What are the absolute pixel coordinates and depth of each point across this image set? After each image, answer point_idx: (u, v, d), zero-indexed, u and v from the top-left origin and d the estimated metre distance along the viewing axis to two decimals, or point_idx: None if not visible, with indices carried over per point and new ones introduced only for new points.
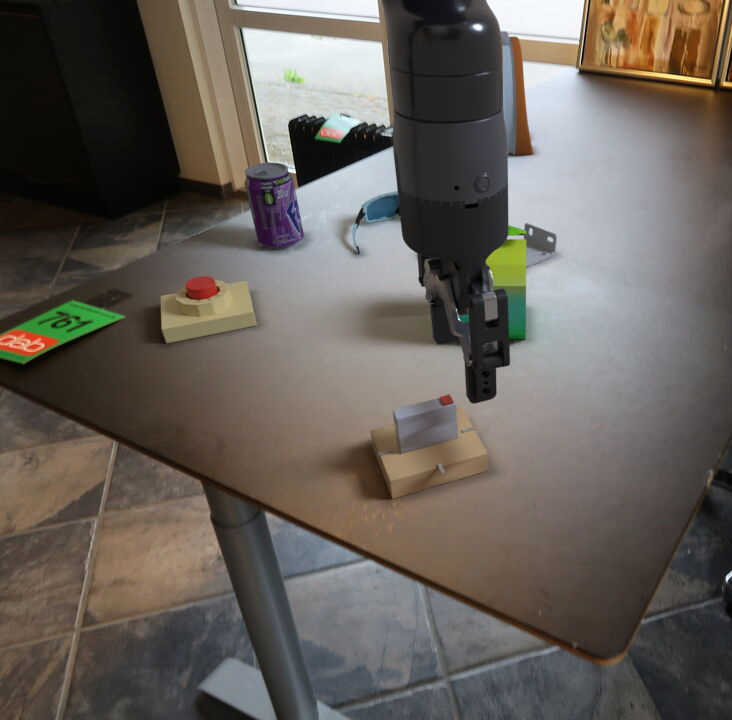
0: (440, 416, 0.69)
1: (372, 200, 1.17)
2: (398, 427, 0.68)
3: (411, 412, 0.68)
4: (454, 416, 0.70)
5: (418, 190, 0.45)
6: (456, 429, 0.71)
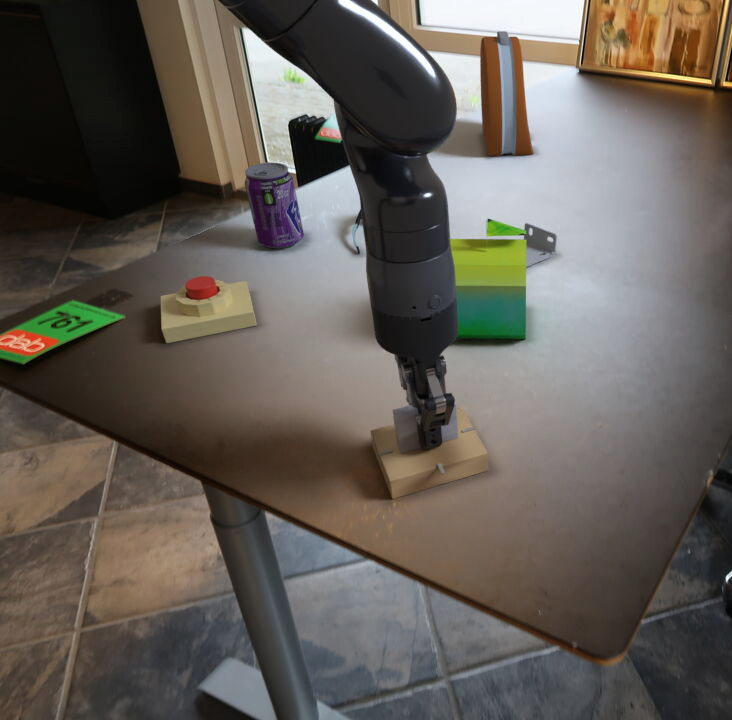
0: None
1: None
2: (398, 427, 0.68)
3: (411, 412, 0.68)
4: (454, 416, 0.70)
5: (385, 308, 0.59)
6: (456, 429, 0.71)
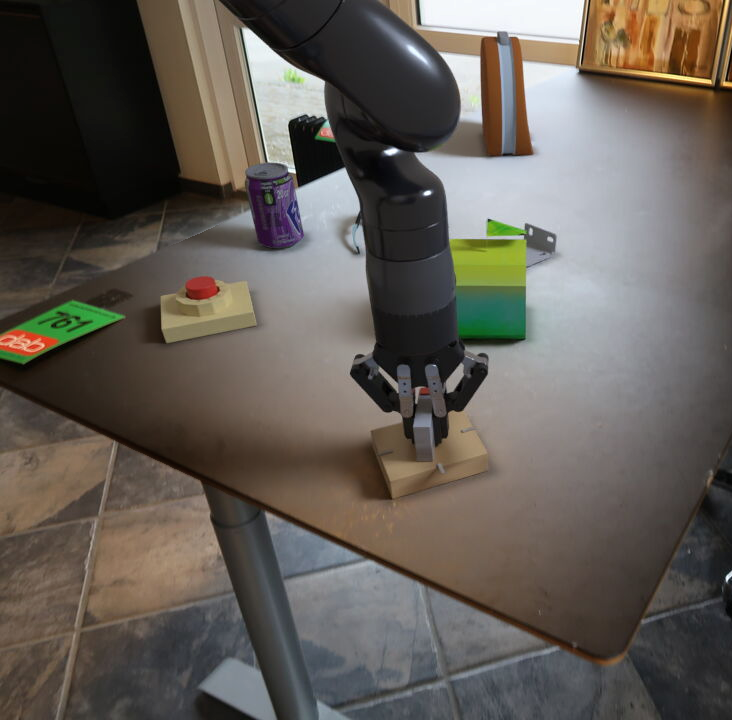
0: None
1: None
2: (430, 434, 0.67)
3: (426, 416, 0.68)
4: None
5: (435, 305, 0.59)
6: None
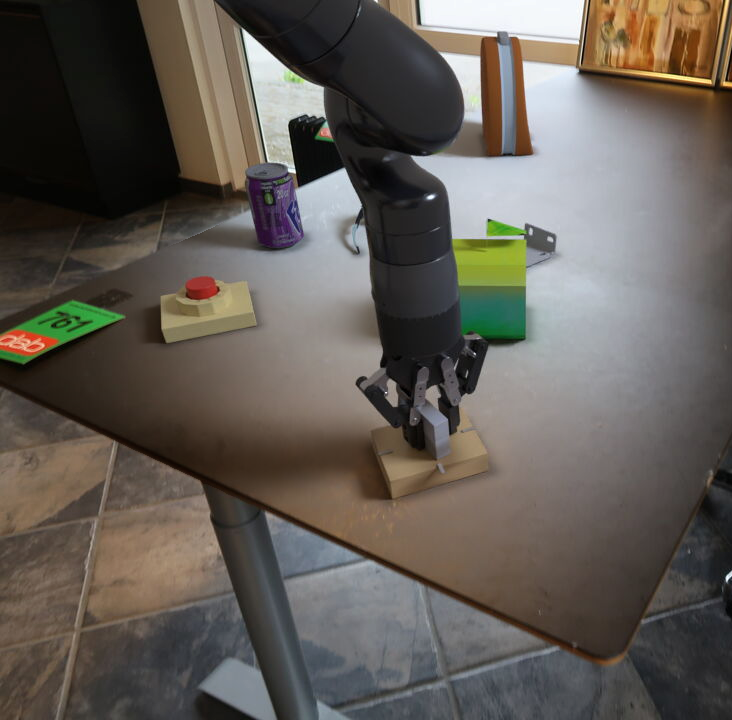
0: None
1: None
2: (447, 427, 0.68)
3: (434, 413, 0.68)
4: None
5: (456, 295, 0.61)
6: None
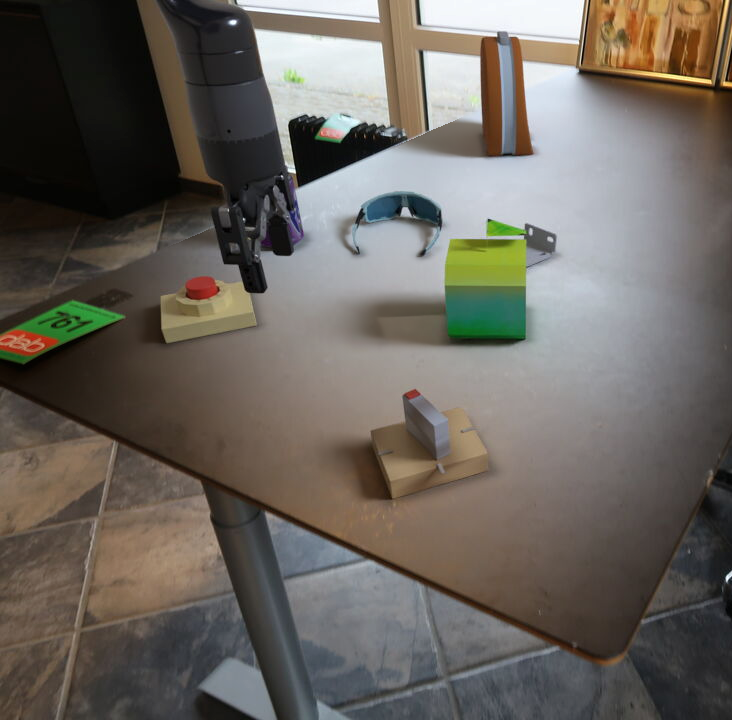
0: None
1: (372, 200, 1.17)
2: (447, 427, 0.68)
3: (434, 413, 0.68)
4: None
5: None
6: None
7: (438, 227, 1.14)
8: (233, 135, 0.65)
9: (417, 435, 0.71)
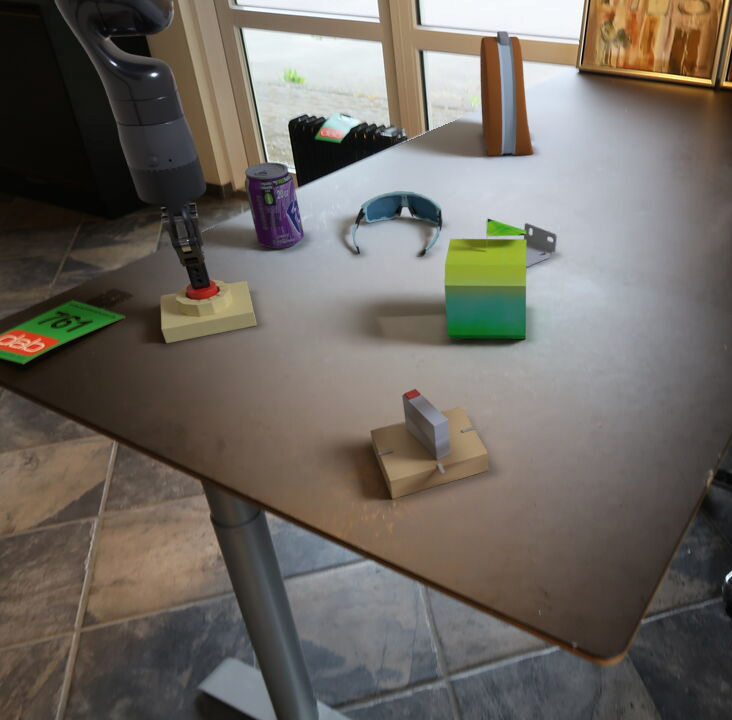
0: None
1: (372, 200, 1.17)
2: (447, 427, 0.68)
3: (434, 413, 0.68)
4: None
5: None
6: None
7: (438, 227, 1.14)
8: (174, 163, 0.79)
9: (417, 435, 0.71)
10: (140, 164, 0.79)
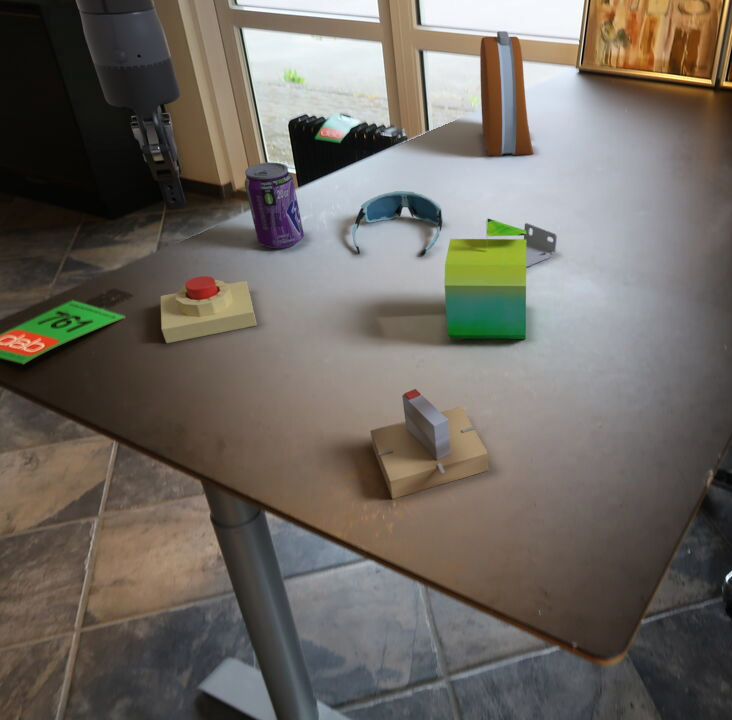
0: None
1: (372, 200, 1.17)
2: (447, 427, 0.68)
3: (434, 413, 0.68)
4: None
5: None
6: None
7: (438, 227, 1.14)
8: (143, 59, 0.73)
9: (417, 435, 0.71)
10: (106, 59, 0.72)
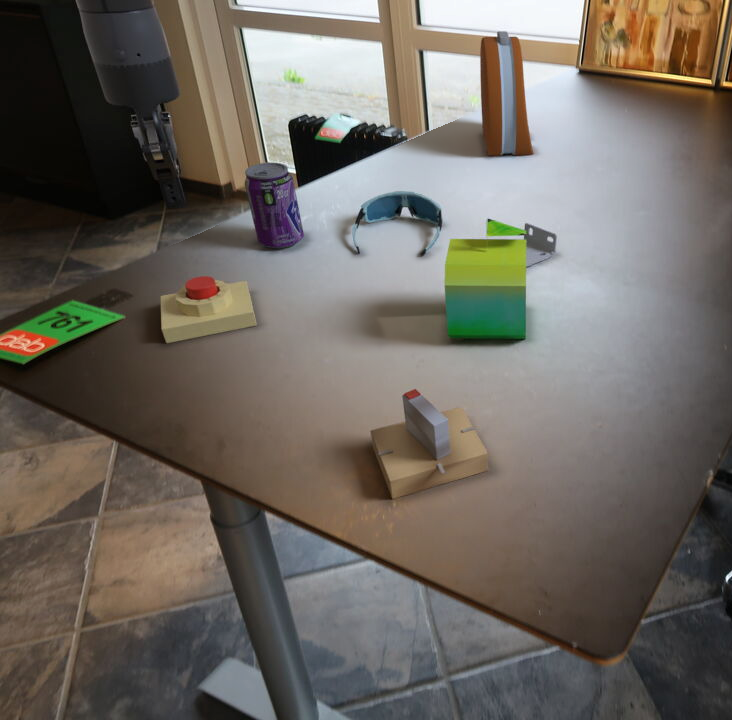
0: None
1: (372, 200, 1.17)
2: (447, 427, 0.68)
3: (434, 413, 0.68)
4: None
5: None
6: None
7: (438, 227, 1.14)
8: (143, 58, 0.73)
9: (417, 435, 0.71)
10: (106, 58, 0.72)
